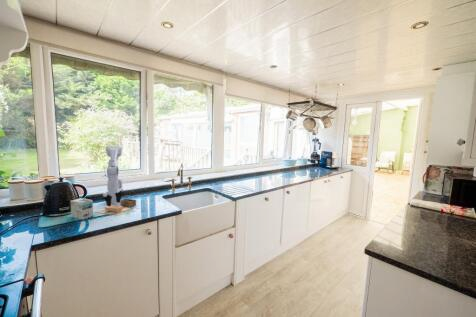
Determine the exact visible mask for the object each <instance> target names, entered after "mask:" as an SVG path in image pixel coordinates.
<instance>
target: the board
mask: <svg viewBox="0 0 476 317" xmlns="http://www.w3.org/2000/svg"><path fill="white" fill-rule="evenodd" d="M134 209H135V208H134V207H125V206H123V209H122V210H120V211H118V212H112V211H108V210H105V208H102V209H100V210H97V211H95V212H94V213H96V214H103V215H112V216H120V215H123V214H124V213H127V212H129V211H131V210H134Z"/></svg>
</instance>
